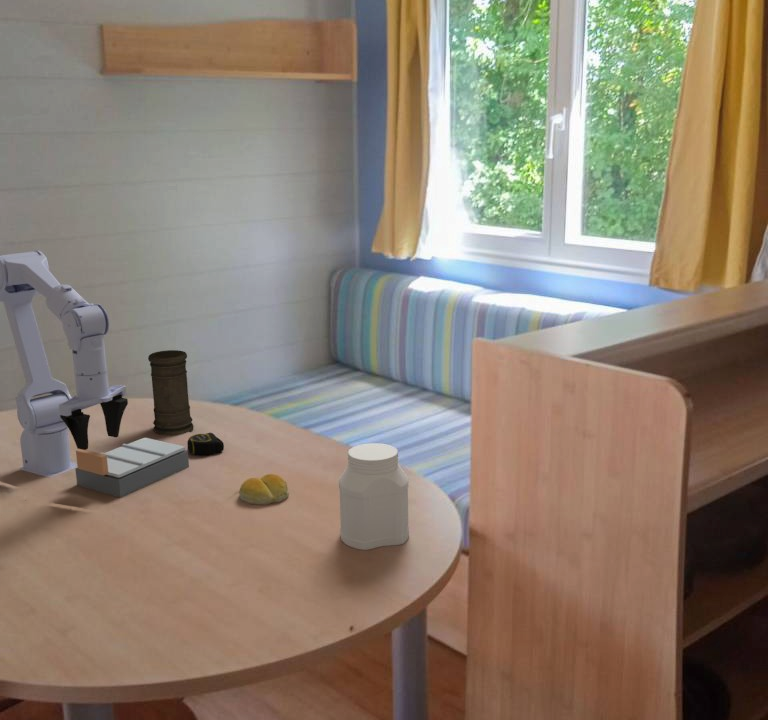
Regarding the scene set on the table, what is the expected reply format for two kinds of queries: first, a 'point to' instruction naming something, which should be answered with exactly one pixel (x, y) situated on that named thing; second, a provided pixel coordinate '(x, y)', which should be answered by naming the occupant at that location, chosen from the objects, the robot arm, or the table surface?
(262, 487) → the bread roll
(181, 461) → the tub
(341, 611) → the table surface
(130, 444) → the lid
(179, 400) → the container
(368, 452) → the jar
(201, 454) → the tape measure
